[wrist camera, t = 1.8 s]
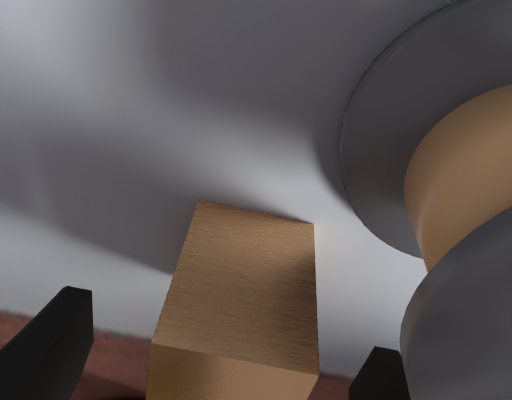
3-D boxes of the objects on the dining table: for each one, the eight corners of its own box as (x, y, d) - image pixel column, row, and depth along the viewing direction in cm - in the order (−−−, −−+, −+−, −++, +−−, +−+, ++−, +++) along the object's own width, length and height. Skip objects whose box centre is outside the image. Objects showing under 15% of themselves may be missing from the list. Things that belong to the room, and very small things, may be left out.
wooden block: (285, 299, 15) (279, 451, 11) (186, 279, 15) (143, 426, 11) (313, 223, 13) (319, 375, 9) (198, 198, 13) (151, 342, 9)
